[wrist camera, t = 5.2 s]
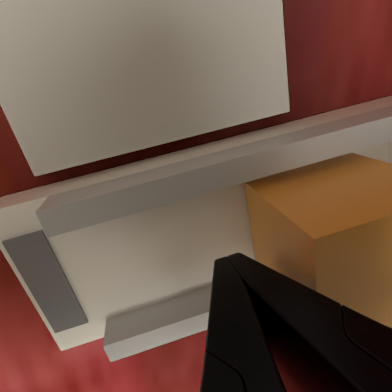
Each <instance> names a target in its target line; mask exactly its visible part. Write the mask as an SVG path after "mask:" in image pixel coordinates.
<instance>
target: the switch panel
mask: <svg viewBox="0 0 392 392" xmlns="http://www.w3.org/2000/svg"><path fill="white" fill-rule="evenodd" d="M348 153H355V154H359V155H362V156H366V157H370V158H373V159H377V160H380V161H384V162H387V163H391V164H392V95H391V96H387V97H383V98H380V99H376V100H372V101H368V102H364V103H360V104H356V105H353V106H349V107H345V108H341V109H337V110H333V111H329V112H326V113H322V114H318V115H314V116H310V117H306V118H303V119H299V120H295V121H291V122H287V123H283V124H279V125H276V126H272V127H268V128H264V129H260V130H256V131H252V132H249V133H245V134H241V135H237V136H233V137H229V138H225V139H222V140H218V141H214V142H210V143H206V144H202V145H198V146H195V147H191V148H187V149H183V150H179V151H175V152H172V153H168V154H164V155H160V156H156V157H152V158H148V159H145V160H141V161H137V162H133V163H129V164H125V165H121V166H118V167H114V168H110V169H106V170H102V171H98V172H94V173H91V174H87V175H83V176H79V177H75V178H71V179H67V180H64V181H60V182H56V183H52V184H48V185H44V186H41V187H37V188H33V189H29V190H25V191H21V192H17V193H14V194H10V195H6V196H2V197H1V198H0V249H1V251H2V253H3V254H4V256H5V258H6V259H7V261H8V263H9V265H10V266H11V268H12V270H13V271H14V273H15V275H16V276H17V278H18V280H19V281H20V283H21V285H22V286H23V288H24V290H25V291H26V293H27V295H28V296H29V298H30V300H31V301H32V303H33V305H34V306H35V308H36V310H37V311H38V313H39V315H40V316H41V318H42V320H43V321H44V323H45V325H46V326H47V328H48V330H49V331H50V333H51V335H52V336H53V338H54V340H55V341H56V343H57V345H58V346H59V348H60V350H61V351H63V350H66V349H69V348H72V347H75V346H79V345H82V344H85V343H88V342H91V341H94V340H97V339H100V338H103V337H104V342H103V348H104V350H105V352H106V354H107V356H108V358H109V360H110V362H113V361H116V360H119V359H122V358H125V357H128V356H131V355H133V354H136V353H139V352H142V351H145V350H148V349H151V348H154V347H157V346H160V345H163V344H166V343H169V342H172V341H175V340H178V339H181V338H184V337H187V336H190V335H192V334H195V333H198V332H201V331H204V330H207V327H208V317H209V307H210V297H211V288H212V278H213V268H214V261H215V260H216V259H219V258H222V257H227V256H228V255H232V254H235V253H242V254H244V255H246V256H248V257H250V258H252V259H254V260H255V254H254V248H253V241H252V234H251V228H250V221H249V214H248V208H247V201H246V194H245V188H244V183H245V182H248V181H252V180H256V179H259V178H263V177H266V176H270V175H273V174H277V173H281V172H284V171H288V170H291V169H295V168H298V167H302V166H305V165H309V164H313V163H316V162H320V161H323V160H327V159H330V158H334V157H338V156H341V155H345V154H348Z"/></svg>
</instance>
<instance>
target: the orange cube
mask: <svg viewBox="0 0 392 392" xmlns="http://www.w3.org/2000/svg"><path fill="white" fill-rule="evenodd" d="M244 188H245V194H246V201H247V208H248V214H249V221H250V228H251V234H252V241H253V248H254V254H255V260H256V261H258V262H260V263H262V264H264V265H265V266H267V267H269V268H271V269H273V270H275V271H277V272H279V273H281V274H283V275H285V276H287V277H289V278H291V279H293V280H295V281H297V282H299V283H301V284H303V285H305V286H307V287H309V288H311V289H313V290H315V291H317V292H319V293H321V294H323V295H325V296H327V297H329V298H330V299H332V300H334V301H336V302H338V303H340V304H341V306H342V305H345V306H346V307H348V308H350V309H352V310H354V311H356V312H358V313H360V314H362V315H365V316H367V317H369V318H371V319H373V320H375V321H377V322H379V323H381V324H383V325H386V326H388V327H390V328H392V164H391V163H387V162H384V161H380V160H377V159H373V158H370V157H366V156H362V155H359V154H355V153H348V154H345V155H341V156H338V157H334V158H330V159H327V160H323V161H320V162H316V163H313V164H309V165H305V166H302V167H298V168H295V169H291V170H288V171H284V172H281V173H277V174H273V175H270V176H266V177H263V178H259V179H256V180H252V181H248V182H245V183H244Z"/></svg>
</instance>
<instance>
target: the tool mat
mask: <svg viewBox="0 0 392 392" xmlns="http://www.w3.org/2000/svg"><path fill="white" fill-rule="evenodd" d="M0 105H1V107H2V109H3V112H4V114H5V116H6V118H7V120H8V122H9V124H10V126H11V128H12V130H13V133H14V135H15V137H16V139H17V141H18V143H19V145H20V147H21V149H22V151H23V154H24V156H25V158H26V160H27V162H28V164H29V166H30V168H31V170H32V172H33V175H34V177H35V176H39V175H43V174H47V173H51V172H55V171H59V170H63V169H67V168H70V167H74V166H78V165H82V164H86V163H90V162H94V161H98V160H102V159H106V158H110V157H114V156H118V155H121V154H125V153H129V152H133V151H137V150H141V149H145V148H149V147H153V146H157V145H161V144H165V143H169V142H172V141H176V140H180V139H184V138H188V137H192V136H196V135H200V134H204V133H208V132H212V131H216V130H220V129H223V128H227V127H231V126H235V125H239V124H243V123H247V122H251V121H255V120H259V119H263V118H267V117H270V116H274V115H278V114H282V113H286V112H290V107H289V93H288V78H287V64H286V49H285V35H284V20H283V6H282V0H0Z"/></svg>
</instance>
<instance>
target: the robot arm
mask: <svg viewBox="0 0 392 392" xmlns="http://www.w3.org/2000/svg"><path fill="white" fill-rule="evenodd" d="M200 392H392V328H390V327H388V326H386V325H383V324H381V323H379V322H377V321H375V320H373V319H371V318H369V317H367V316H365V315H362V314H360V313H358V312H356V311H354V310H352V309H350V308H348V307H346V306H345V305H342V306H341V304H340V303H338V302H336V301H334V300H332V299H330V298H329V297H327V296H325V295H323V294H321V293H319V292H317V291H315V290H313V289H311V288H309V287H307V286H305V285H303V284H301V283H299V282H297V281H295V280H293V279H291V278H289V277H287V276H285V275H283V274H281V273H279V272H277V271H275V270H273V269H271V268H269V267H267V266H265V265H264V264H262V263H260V262H258V261H256V260H254V259H252V258H250V257H248V256H246V255H244V254H242V253H235V254H232V255H228V256H227V257H222V258H219V259H216V260H215V261H214V268H213V278H212V288H211V297H210V307H209V317H208V327H207V336H206V346H205V354H204V363H203V372H202V379H201V386H200Z"/></svg>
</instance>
